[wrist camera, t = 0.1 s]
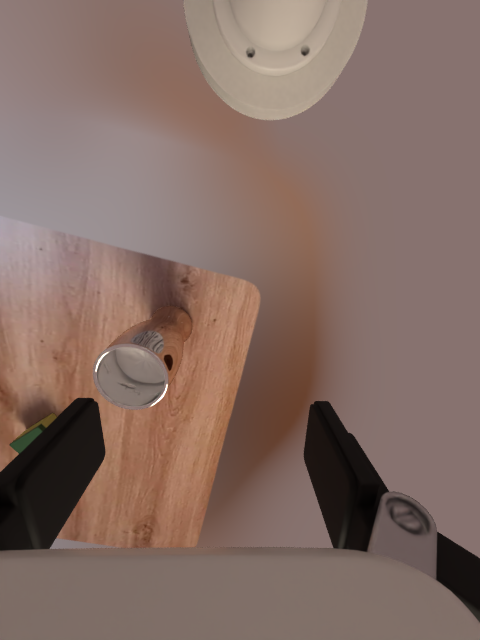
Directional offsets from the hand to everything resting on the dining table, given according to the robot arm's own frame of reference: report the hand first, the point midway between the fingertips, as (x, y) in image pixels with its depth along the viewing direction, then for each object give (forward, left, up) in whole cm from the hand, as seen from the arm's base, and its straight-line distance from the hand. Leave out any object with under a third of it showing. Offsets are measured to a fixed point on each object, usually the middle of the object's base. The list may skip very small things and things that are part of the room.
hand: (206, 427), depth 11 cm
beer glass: (-1, -9, -26) cm, 27 cm away
